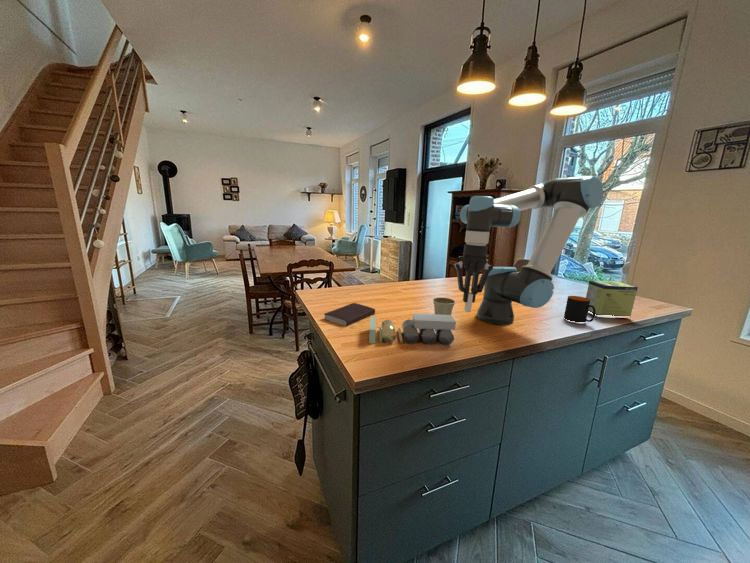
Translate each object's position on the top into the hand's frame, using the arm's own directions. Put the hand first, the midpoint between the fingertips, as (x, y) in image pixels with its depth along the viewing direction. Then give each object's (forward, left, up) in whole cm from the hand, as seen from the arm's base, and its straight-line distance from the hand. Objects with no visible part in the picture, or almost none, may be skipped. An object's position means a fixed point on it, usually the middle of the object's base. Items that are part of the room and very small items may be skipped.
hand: (467, 311), depth 106 cm
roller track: (+18, 0, -11) cm, 21 cm away
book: (+43, -20, -12) cm, 48 cm away
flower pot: (+4, -20, -11) cm, 23 cm away
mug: (-57, -24, -11) cm, 63 cm away
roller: (+26, 0, -11) cm, 29 cm away
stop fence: (+33, 0, -11) cm, 35 cm away
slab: (+12, 0, -6) cm, 13 cm away
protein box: (-78, -36, -11) cm, 87 cm away
